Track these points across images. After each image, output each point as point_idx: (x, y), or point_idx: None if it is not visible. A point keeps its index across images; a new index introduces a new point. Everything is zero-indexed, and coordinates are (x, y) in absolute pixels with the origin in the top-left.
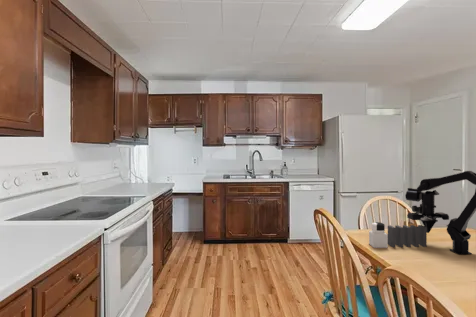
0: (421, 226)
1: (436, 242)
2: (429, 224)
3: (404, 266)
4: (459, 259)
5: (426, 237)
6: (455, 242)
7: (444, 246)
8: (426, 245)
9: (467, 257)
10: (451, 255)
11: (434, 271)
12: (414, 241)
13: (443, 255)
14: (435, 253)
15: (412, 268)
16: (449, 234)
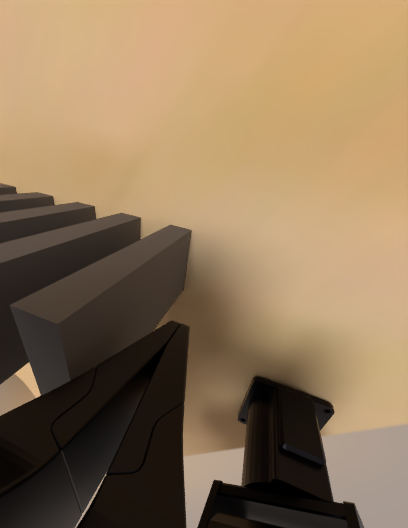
0: (38, 378)
1: (361, 232)
2: (87, 502)
3: (20, 377)
4: (193, 428)
5: (152, 330)
6: (243, 468)
7: (306, 325)
8: (180, 293)
9: (243, 437)
10: (200, 402)
11: None
12: None
13: None
14: None
15: (33, 391)
16: (213, 520)
